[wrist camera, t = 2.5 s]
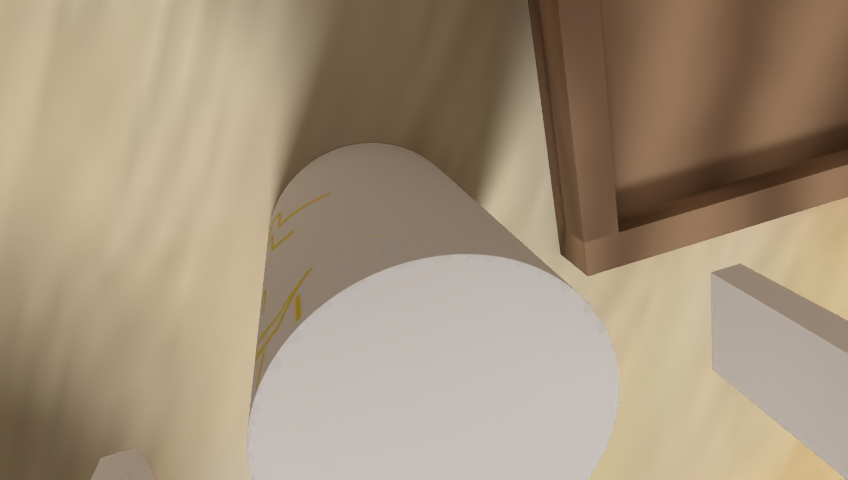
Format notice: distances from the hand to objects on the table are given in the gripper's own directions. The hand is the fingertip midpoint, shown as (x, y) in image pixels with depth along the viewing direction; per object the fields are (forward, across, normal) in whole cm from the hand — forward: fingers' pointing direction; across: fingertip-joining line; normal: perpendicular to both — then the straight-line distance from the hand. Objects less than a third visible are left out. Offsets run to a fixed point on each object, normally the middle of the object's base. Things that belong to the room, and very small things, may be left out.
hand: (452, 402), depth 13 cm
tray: (+12, +15, +5) cm, 20 cm away
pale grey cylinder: (+12, -1, 0) cm, 12 cm away
